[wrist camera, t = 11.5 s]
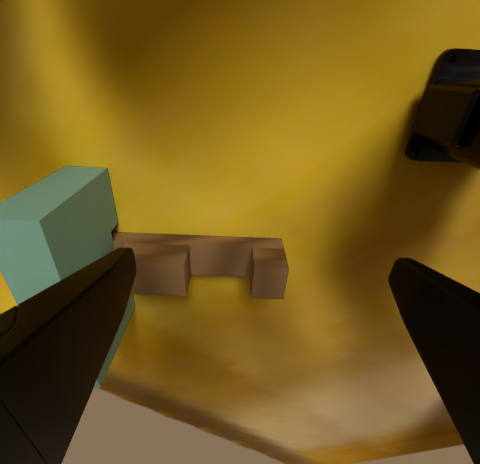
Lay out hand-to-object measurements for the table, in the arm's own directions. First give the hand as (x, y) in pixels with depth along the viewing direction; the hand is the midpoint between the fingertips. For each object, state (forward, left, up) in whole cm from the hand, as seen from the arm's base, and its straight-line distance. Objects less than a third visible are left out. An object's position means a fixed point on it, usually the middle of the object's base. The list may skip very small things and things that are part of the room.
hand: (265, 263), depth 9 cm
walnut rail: (+7, +8, -12) cm, 16 cm away
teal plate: (+12, +8, -12) cm, 19 cm away
